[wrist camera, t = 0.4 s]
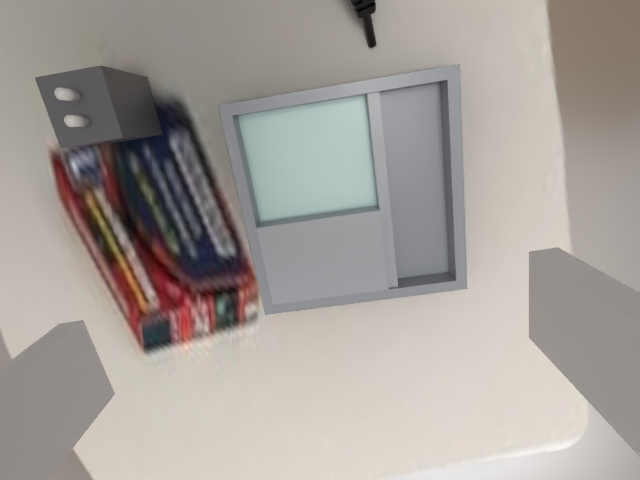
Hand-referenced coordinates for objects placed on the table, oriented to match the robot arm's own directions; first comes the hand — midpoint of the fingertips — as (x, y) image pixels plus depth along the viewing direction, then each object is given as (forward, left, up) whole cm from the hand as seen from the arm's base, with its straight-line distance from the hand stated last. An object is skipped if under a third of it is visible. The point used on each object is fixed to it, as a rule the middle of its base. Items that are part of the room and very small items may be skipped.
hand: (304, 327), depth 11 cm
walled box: (+2, +3, -26) cm, 26 cm away
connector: (-9, -16, -26) cm, 32 cm away
